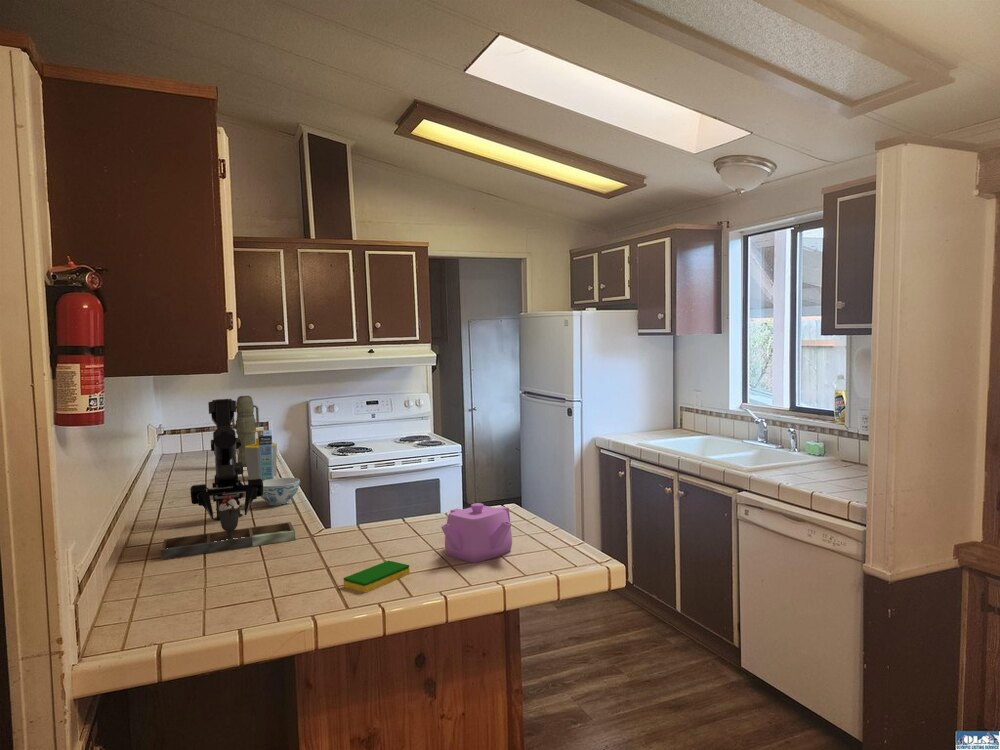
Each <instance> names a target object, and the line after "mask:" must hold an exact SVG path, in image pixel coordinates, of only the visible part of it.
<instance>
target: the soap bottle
mask: <svg viewBox="0 0 1000 750" xmlns="http://www.w3.org/2000/svg"><path fill="white" fill-rule="evenodd" d="M259 431H266V430H265V429H256V431H253V432H252V433H254V432H256V433H257V438H255V441H256V444H252V445H247V446H245V452H246V461H247V470H246V471H247V476H248V478H249V479H257V478H260V462H259ZM272 446H273V472H274V476H276V477H277V459H278V458H277V456H278V455H277V452H278V450H277V447H278V446H277V443H275V442H274V443H273V442H272Z"/></svg>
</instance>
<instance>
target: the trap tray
mask: <svg viewBox="0 0 1000 750" xmlns="http://www.w3.org/2000/svg"><path fill="white" fill-rule="evenodd" d="M232 537H233V538H238V539H231V540H226V539H228V532H227V531H225V530H221V531H215V532H207V533H201V534H194V535H193V534H191V535H185V536H178V537H170V538H164V539H163V542H162V545H161V549H160V556H161V558H160V560H161V559H164V560H169V559H168V558H171V559H176V558H175V557H177V558H182V557H181V556H184V557H189V555H191V556H196V555H195V554H198V555H203V553H204V554H210V552H211V553H216V551H218V552H223V551H222V550H225V551H229V550H228V549H231V550H235V549H234V548H238V549H242V547H245V548H251V547H250V546H252V547H259V546H263V545H270V544H271V545H272V544H279V543H285V542H292V541H296V530H295V529H294V526H293V524H292V522H291V521H290V522H288V521H287V522H281V523H272V524H267V525H258V526H252V527H245V528H235V529H234V530H233V532H232ZM241 537H245V538H241ZM221 540H224V541H221ZM214 541H217V542H214ZM167 548H168V549H167Z"/></svg>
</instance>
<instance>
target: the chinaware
mask: <svg viewBox="0 0 1000 750" xmlns="http://www.w3.org/2000/svg"><path fill="white" fill-rule="evenodd" d="M300 484H301V480H300V478H297V477H280V478H279V477H278V478H277V477H276V478H275V479H269V480H264V481H263V495H262V496H260V498H262V500H264V501H265V502H267V503H268V505H269V506H272V505H276V506H282V505H281V504H284V505H286V504H285V503H287V502H288V501H290V500H291V499H292V498H293V497H294V496H295V495H296V494H297V492H298V490H299V487H300ZM287 504H288V503H287Z"/></svg>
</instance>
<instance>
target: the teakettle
mask: <svg viewBox="0 0 1000 750" xmlns="http://www.w3.org/2000/svg"><path fill="white" fill-rule="evenodd" d="M440 528H441V531H442V532H443V534H444V548H445V549H444V550H445V553H446V554H447V556H449V557H452V558H455V559H458V560H461V561H465V562H469V563H473V564H474V563H480V562H483V561H488V560H490V559H494V558H497V557H499V556H503V555H505V554H506V553H509V552H510V551H511V549H512V545H513V536H512V535H513V534H512V523H511V516H510V507H508V506H507V507H506V506H499V507H493V506H488V505H484V503H482V502H477V503H472V504H470V507H466V508H454V509H450V512H449V514H448V515H447V519H446V523H445V524H443V525H441V526H440Z"/></svg>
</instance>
